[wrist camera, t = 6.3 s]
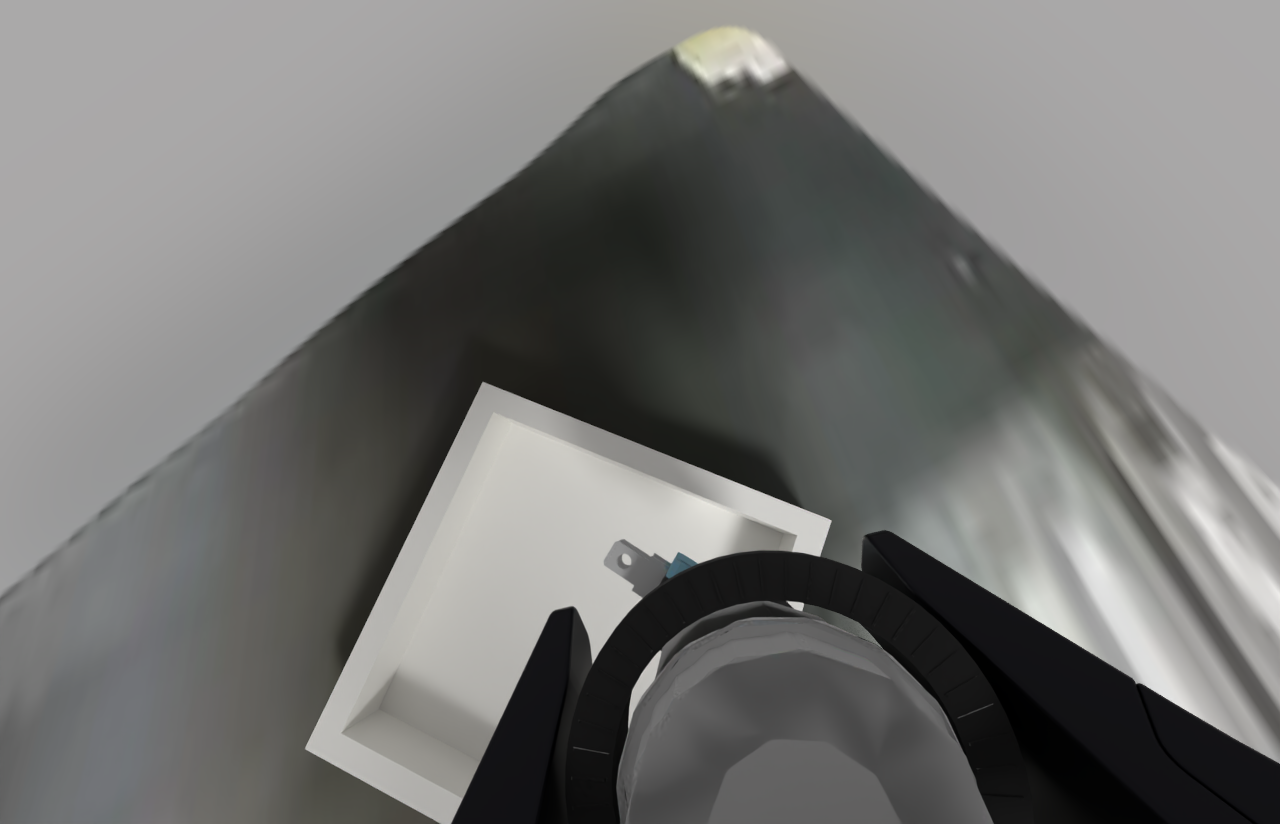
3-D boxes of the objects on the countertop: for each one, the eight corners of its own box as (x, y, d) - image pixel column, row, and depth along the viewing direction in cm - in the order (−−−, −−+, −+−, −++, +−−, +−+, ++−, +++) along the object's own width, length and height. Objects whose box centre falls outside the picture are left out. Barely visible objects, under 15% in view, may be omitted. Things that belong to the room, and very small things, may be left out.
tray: (685, 890, 19) (688, 959, 16) (356, 717, 21) (304, 748, 18) (809, 520, 21) (831, 520, 19) (506, 399, 24) (482, 381, 21)
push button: (573, 620, 15) (345, 829, 5) (662, 471, 16) (608, 410, 6) (767, 759, 14) (945, 1374, 4) (858, 590, 14) (1208, 767, 5)
